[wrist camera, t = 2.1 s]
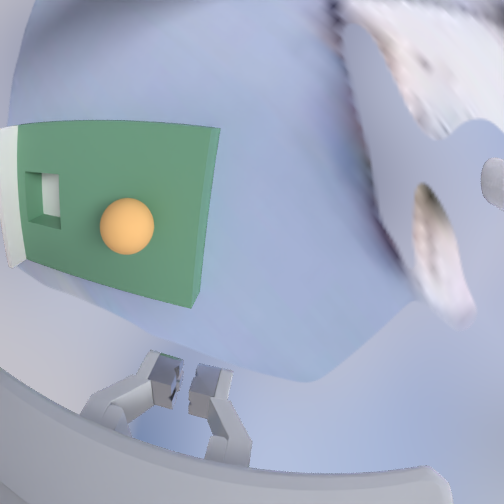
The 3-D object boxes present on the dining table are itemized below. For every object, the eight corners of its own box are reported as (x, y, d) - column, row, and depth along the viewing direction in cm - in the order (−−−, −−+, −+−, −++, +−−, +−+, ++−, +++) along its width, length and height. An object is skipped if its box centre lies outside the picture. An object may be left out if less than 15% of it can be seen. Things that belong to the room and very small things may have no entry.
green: (32, 122, 26) (-4, 128, 20) (220, 128, 25) (201, 128, 19) (37, 247, 33) (8, 267, 28) (199, 291, 33) (182, 326, 27)
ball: (118, 188, 25) (88, 203, 20) (164, 196, 25) (139, 212, 20) (117, 236, 27) (91, 257, 22) (161, 246, 27) (139, 270, 22)
